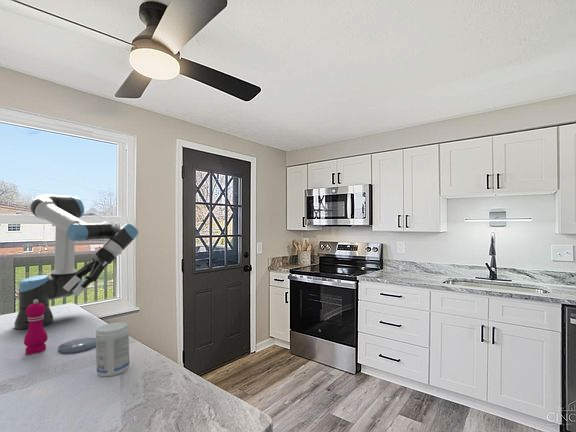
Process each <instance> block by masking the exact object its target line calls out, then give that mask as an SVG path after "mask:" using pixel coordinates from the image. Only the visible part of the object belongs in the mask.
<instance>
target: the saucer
mask: <svg viewBox="0 0 576 432" xmlns="http://www.w3.org/2000/svg"><path fill="white" fill-rule="evenodd" d="M94 348H96V337H83V338H77V339H72V340H69V341H66V342H64V343H62V344H59V346H58V347H57V352H58V353H59V354H60V353H61V354H64V355H65V354H67V355H68V354H77V353H82V352H86V351H89V350H92V349H94Z"/></svg>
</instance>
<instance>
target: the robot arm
mask: <svg viewBox="0 0 576 432" xmlns="http://www.w3.org/2000/svg"><path fill="white" fill-rule="evenodd" d="M29 208H30V212H31V213H32V215H34V216H35V217H37V219H40V220H42V221H43V220H44V221H48V222H49V223H51V224H53V226H55V234H54V235H55V237H54V238H55V240H54V241H55V244H54V246H55V247H54V269H53V270H52V271H51V272H50V275H48V274H41V275H40V274H39V275H35V276H30V277H27V278H23V279H22V280H21V281H20V282H19V285H18V286H19V287H18V313H17V315H16V319H15V320H14V324H13V325H14V327H13V328H14V329H16V330H28V329H29V321H27V320H28V317H29V316H28V315H27V314H26V309H27V307H28V306H29V305H31V304H34V303H33V300H35V299H37V300H38V301H39V302H38V303H42V304H44V306H45V312H44V313H43V315H44V319H43V321H42V323H43V327H44V326H48V325H50V324H52V323H53V322H54V315H53V313H52V310H51V308H50V301H53V300H57V299H62V298H69V297H71V296H75V295H76V296H77V297H79V296H80V295H81V294H82V293H83V292H84V291H85V290H86V288H88V286H89V285H90V284H92V283H93V282H96V281H97V280H98V278H99V277H100V275H101V274H102V273H103V271H104V270H105V268H106V267H107V266H108V265H110V264H112V262H114V260H116V257H118V256H119V255H121V254H122V252H123V251H124V250H125V249H126V248H127V247H128V246H129V245H130V244H131V243H132V242H133V241H134V240H135V238H136V237H137V236H138V235H139V230H138V229H137V228H136V227H135V226H134V225H132V224H131V223H125V224H124V225H122V226H121V225H118V224H115V223H114V222H111V221H106V220H105V221H103V222H101V223H87V222H85V221H83V220H81V219H80V218H81V217H83V216H84V213H85V206H84V202H83V200H81V199H80V198H79V197H78V196H73V195H63V194H62V195H59V194H42V195H38V196H37V197H35V198H34V199H33V200H32V202H30V207H29ZM98 240H99V241H100V240H108V241H107V242H105V243H104V245H102V247H101V248H99V249H98V250H97V251H96V252H95V255H96V258H94V257H93V258H92V259H91V260H89V262H87V263H85V265H84V266H82V267H81V268H80V269H79V270H77V269H76V267H75V253H76V252H75V251H76V250H75V249H76V248H75V247H76V246H75V245H76V242H83V241H86V242H87V241H98ZM87 274H88V275H87ZM86 275H87V276H86ZM84 276H85V277H84ZM83 277H84V279H83Z"/></svg>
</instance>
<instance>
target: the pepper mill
mask: <svg viewBox="0 0 576 432" xmlns="http://www.w3.org/2000/svg"><path fill="white" fill-rule="evenodd" d="M38 302H39V301H38V300H37V299H35V300H33V303H34V304H31V305H29V306H28V307H27V309H26V314H27V315H28V316H29V317H28V320H27V321H29V329H27V332H26V334H25V336H24V339H23V344H24V345H25V354H26V355H35V354H39V353H42V352H44V351H46V350H47V344H46V342H47V340H48V334H47V331H46V330H45V328H44V326H43V323H42V321H43V319H44V315H43V313H44V312H45V306H44V304H42V303H38Z"/></svg>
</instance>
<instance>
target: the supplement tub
mask: <svg viewBox="0 0 576 432" xmlns="http://www.w3.org/2000/svg"><path fill="white" fill-rule="evenodd" d="M95 329H96V331H95V338H96V347H95V350H96V352H95V354H96V359H95V360H96V374H97V375H98V376H99V377H101V378H103V377H106V378H109V377H114V376H117V375H120V374H123V373H124V372H125V371H127V370H128V369H129V368H130V338H129V337H130V336H129V331H130V330H129V323H127V322H121V321H119V322H110V323H107V324H102V325H101V326H98V327H96V328H95Z"/></svg>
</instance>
